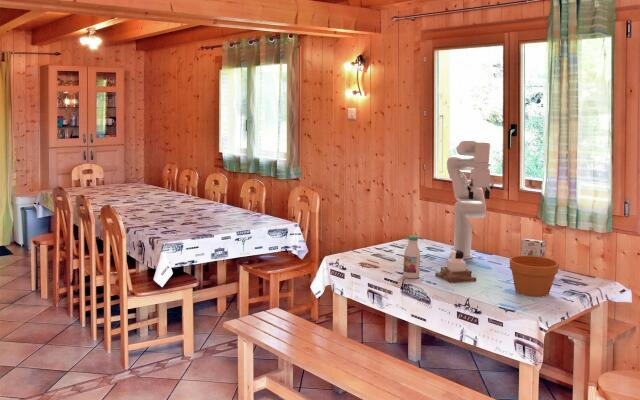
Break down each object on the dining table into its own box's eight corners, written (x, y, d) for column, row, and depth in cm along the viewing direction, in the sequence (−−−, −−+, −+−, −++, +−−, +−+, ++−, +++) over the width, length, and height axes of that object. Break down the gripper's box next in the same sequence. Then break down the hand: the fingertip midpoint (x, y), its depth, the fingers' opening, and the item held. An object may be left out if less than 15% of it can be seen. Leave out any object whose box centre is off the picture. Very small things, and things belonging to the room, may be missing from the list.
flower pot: (544, 302, 276) (547, 268, 274) (499, 292, 289) (501, 260, 287) (563, 293, 291) (566, 261, 289) (519, 283, 305) (522, 253, 303)
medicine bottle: (460, 273, 315) (462, 249, 314) (465, 277, 308) (466, 252, 307) (446, 273, 315) (447, 249, 313) (450, 277, 308) (452, 252, 306)
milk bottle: (409, 274, 317) (411, 234, 314) (422, 277, 312) (424, 236, 309) (399, 276, 312) (401, 235, 309) (412, 279, 306) (414, 238, 304)
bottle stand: (435, 275, 315) (435, 266, 315) (459, 273, 321) (460, 264, 320) (451, 282, 303) (451, 273, 302) (476, 280, 308) (476, 271, 307)
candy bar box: (544, 272, 329) (546, 241, 326) (539, 274, 325) (542, 242, 323) (523, 268, 336) (525, 237, 334) (519, 269, 332) (521, 238, 330)
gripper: (490, 164, 333) (488, 197, 336) (462, 164, 327) (460, 198, 330) (499, 166, 326) (497, 199, 329) (470, 166, 320) (468, 200, 323)
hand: (478, 198), depth 329 cm, fingers open, 9 cm apart
